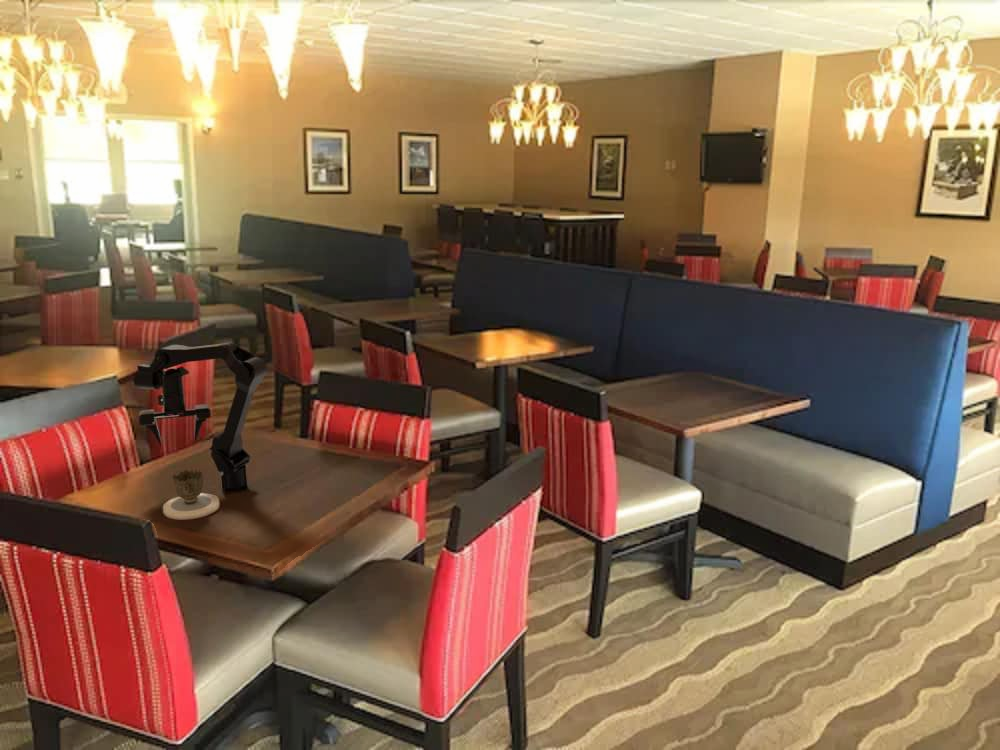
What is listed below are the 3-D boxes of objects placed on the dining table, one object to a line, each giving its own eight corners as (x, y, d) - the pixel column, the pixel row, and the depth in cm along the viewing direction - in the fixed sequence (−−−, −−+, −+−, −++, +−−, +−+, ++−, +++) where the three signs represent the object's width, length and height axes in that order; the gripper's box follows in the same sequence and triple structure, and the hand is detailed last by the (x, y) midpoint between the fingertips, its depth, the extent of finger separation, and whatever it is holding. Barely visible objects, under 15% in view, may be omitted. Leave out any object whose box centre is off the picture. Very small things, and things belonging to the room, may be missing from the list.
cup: (191, 495, 219) (188, 467, 217) (211, 499, 216) (209, 471, 214) (169, 504, 213) (166, 476, 211) (189, 509, 209) (187, 481, 208)
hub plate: (218, 495, 223) (217, 489, 223) (221, 514, 211) (220, 508, 210) (163, 502, 218) (162, 497, 218) (163, 523, 206) (162, 517, 205)
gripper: (206, 380, 237) (211, 431, 240) (137, 386, 230) (143, 438, 234) (208, 389, 227) (213, 442, 230) (136, 396, 220) (142, 450, 224)
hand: (178, 443), depth 230 cm, fingers open, 9 cm apart
